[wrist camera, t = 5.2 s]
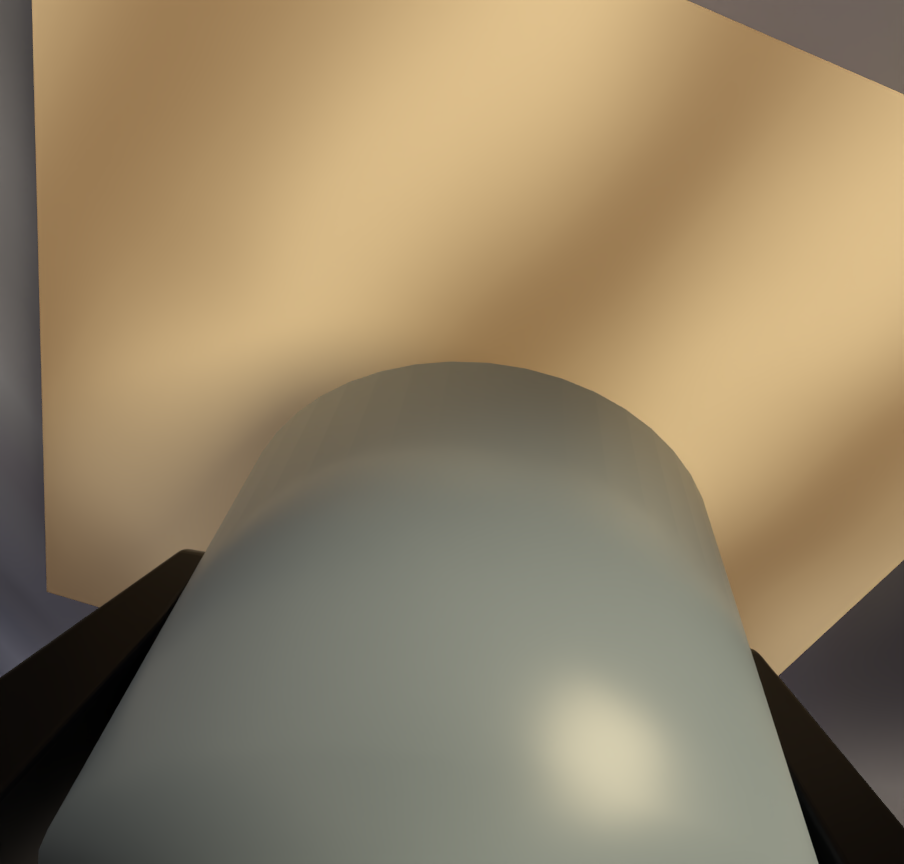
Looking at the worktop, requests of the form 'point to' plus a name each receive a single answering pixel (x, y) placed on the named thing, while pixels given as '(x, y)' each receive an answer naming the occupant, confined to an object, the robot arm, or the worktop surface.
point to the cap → (448, 653)
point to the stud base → (469, 259)
